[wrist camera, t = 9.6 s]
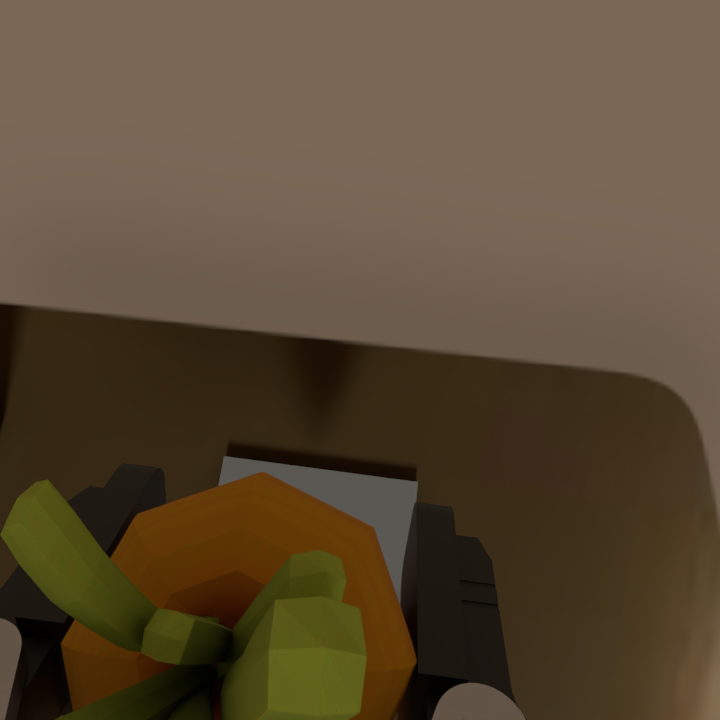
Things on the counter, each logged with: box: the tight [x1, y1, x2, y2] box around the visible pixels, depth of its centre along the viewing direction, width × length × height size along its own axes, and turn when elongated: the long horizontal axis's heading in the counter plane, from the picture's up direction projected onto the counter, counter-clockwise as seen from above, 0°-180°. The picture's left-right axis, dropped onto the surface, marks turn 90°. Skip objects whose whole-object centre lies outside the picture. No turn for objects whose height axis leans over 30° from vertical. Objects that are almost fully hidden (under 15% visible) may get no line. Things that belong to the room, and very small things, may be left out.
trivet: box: [218, 456, 418, 604], centre depth 24 cm, size 8×8×1 cm
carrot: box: [0, 472, 417, 720], centre depth 11 cm, size 5×5×15 cm
